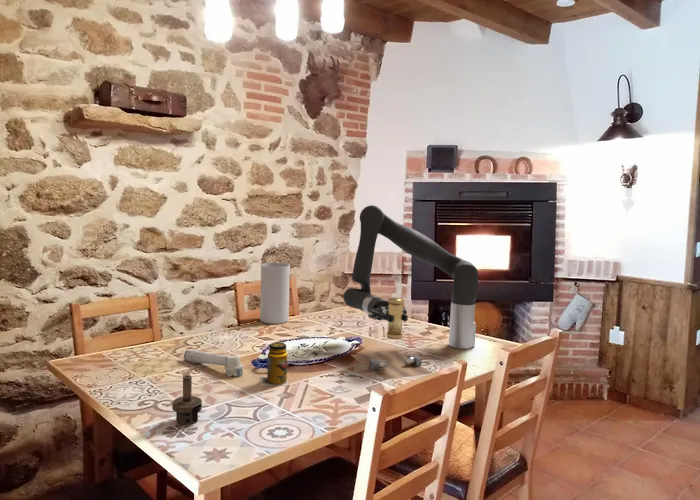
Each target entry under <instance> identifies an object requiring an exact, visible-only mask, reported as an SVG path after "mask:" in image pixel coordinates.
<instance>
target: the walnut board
mask: <svg viewBox="0 0 700 500" xmlns="http://www.w3.org/2000/svg"><path fill="white" fill-rule="evenodd" d="M350 356H351V357H352V358H354V359H355V360H357V361H358V363H359V362H360V363H361V365H364V366H365V367H366V368H367V369H369V370H371V369H370V368H369V359H377V360H378V361H385V360H386V362H387V367H386V368H379V371H373V373H375V374H377V375H378V376H379V377H380V378H382V379H383V380H391V379H398V378H399V379H400V378H407V377H414V376H422V375H430V374H431V373H432V374H433V372H431V371H430V370H429V369H427V368H424V366H422V365H421V366H417V367H416V366H413V365H411V364H410V365H405V364H404V359H405V358H407V357H406V356H404V354H401V353H400V352H398V351H396V350H387V351H378V352H377V351H376V352H368V353H357V354H350Z"/></svg>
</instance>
